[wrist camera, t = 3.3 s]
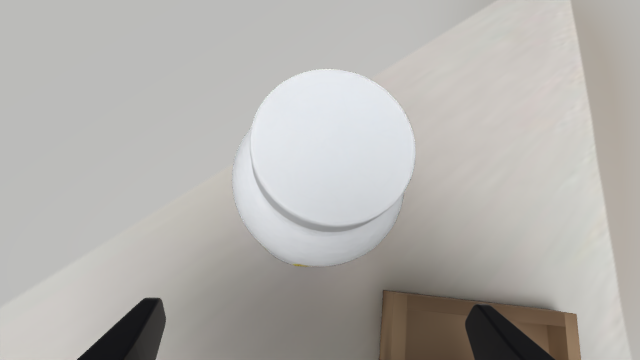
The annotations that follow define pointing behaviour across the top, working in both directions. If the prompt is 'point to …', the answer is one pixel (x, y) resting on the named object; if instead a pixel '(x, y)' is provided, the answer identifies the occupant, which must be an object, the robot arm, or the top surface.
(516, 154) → the top surface
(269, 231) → the supplement bottle
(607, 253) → the top surface
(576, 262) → the top surface
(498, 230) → the top surface
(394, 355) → the walnut tray
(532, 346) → the robot arm
